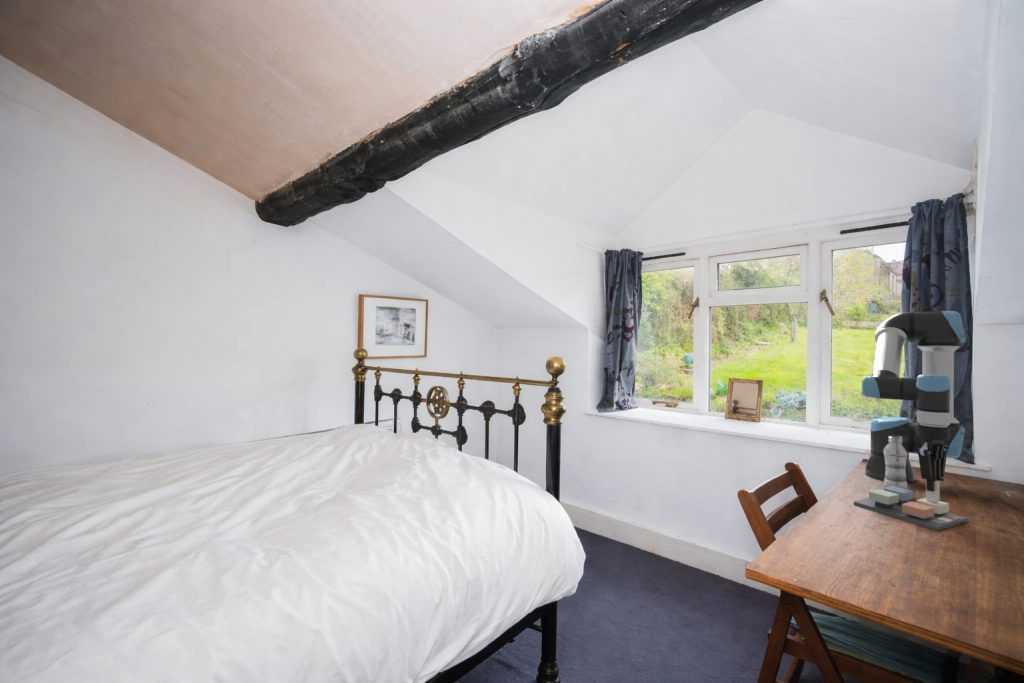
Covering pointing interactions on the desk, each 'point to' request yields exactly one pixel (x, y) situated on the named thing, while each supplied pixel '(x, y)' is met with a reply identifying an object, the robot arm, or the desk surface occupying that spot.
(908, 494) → the key slate
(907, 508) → the key terracotta
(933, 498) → the robot arm
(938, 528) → the keypad
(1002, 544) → the desk surface
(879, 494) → the key sage
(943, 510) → the key cream
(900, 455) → the plastic bottle
